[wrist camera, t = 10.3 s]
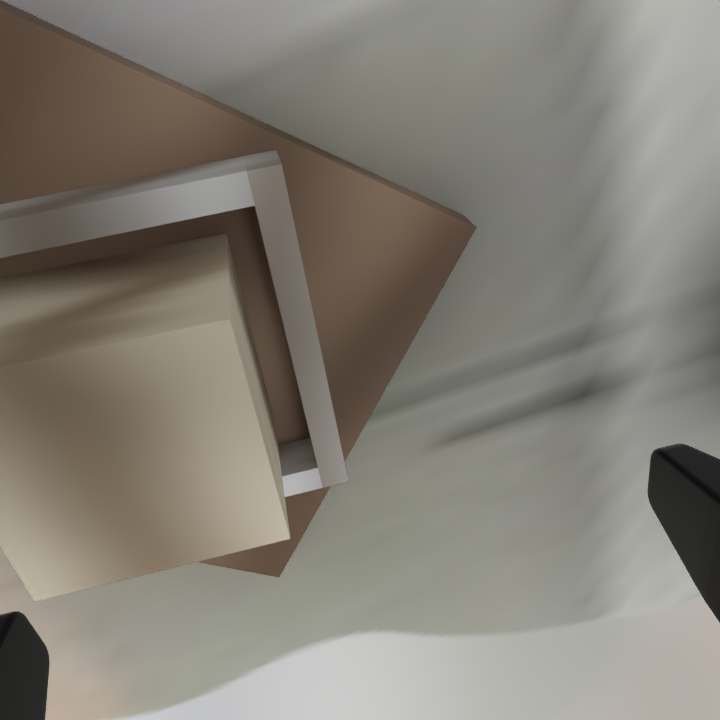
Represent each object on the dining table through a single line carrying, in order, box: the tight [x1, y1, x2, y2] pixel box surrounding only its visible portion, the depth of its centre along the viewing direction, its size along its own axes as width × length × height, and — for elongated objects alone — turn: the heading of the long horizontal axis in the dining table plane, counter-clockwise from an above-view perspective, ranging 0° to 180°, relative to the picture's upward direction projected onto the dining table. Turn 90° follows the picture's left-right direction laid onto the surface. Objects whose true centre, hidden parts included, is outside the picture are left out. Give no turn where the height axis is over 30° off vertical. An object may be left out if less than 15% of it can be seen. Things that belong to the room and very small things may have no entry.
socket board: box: [0, 0, 476, 577], centre depth 18 cm, size 14×14×2 cm
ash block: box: [0, 233, 290, 602], centre depth 16 cm, size 6×6×5 cm
